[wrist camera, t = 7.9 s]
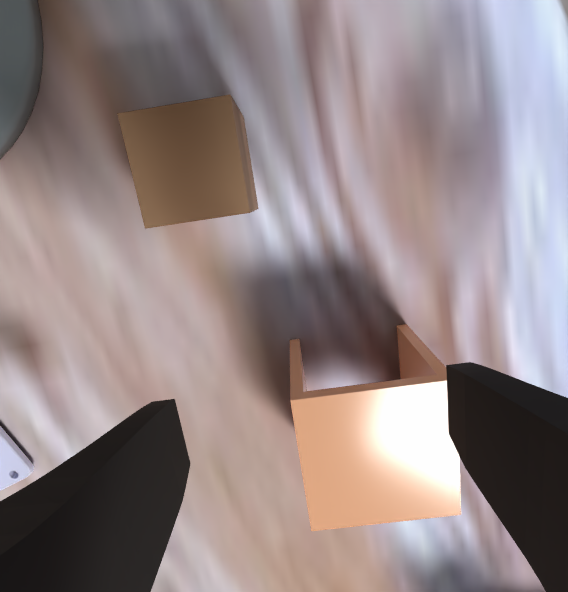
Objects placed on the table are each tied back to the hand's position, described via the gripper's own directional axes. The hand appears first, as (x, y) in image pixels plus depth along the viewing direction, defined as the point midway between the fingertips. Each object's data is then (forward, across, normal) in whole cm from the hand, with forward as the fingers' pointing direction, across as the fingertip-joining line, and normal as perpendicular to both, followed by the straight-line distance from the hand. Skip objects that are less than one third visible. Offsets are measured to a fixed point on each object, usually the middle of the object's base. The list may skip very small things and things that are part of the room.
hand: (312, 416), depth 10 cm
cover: (+9, -2, +4) cm, 11 cm away
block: (+10, +3, -7) cm, 12 cm away
